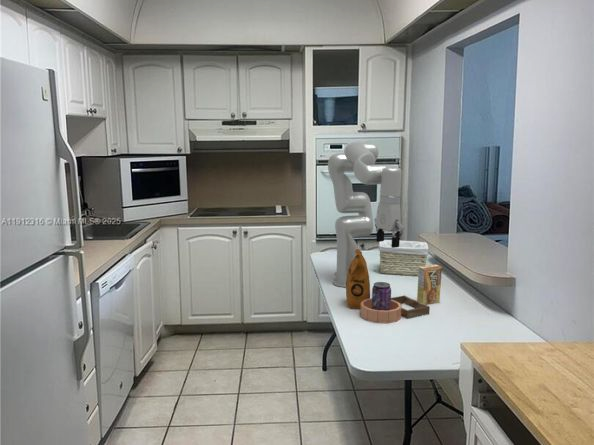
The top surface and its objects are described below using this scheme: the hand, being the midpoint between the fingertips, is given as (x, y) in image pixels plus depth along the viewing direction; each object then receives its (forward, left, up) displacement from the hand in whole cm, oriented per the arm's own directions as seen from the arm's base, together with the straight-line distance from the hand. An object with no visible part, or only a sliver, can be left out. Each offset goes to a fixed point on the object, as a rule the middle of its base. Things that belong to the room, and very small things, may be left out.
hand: (387, 244), depth 191 cm
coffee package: (-10, -6, -27) cm, 29 cm away
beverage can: (+5, -6, -26) cm, 27 cm away
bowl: (+4, -5, -27) cm, 27 cm away
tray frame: (+4, +7, -27) cm, 28 cm away
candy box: (+1, +22, -27) cm, 34 cm away
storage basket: (-41, +42, -27) cm, 64 cm away
